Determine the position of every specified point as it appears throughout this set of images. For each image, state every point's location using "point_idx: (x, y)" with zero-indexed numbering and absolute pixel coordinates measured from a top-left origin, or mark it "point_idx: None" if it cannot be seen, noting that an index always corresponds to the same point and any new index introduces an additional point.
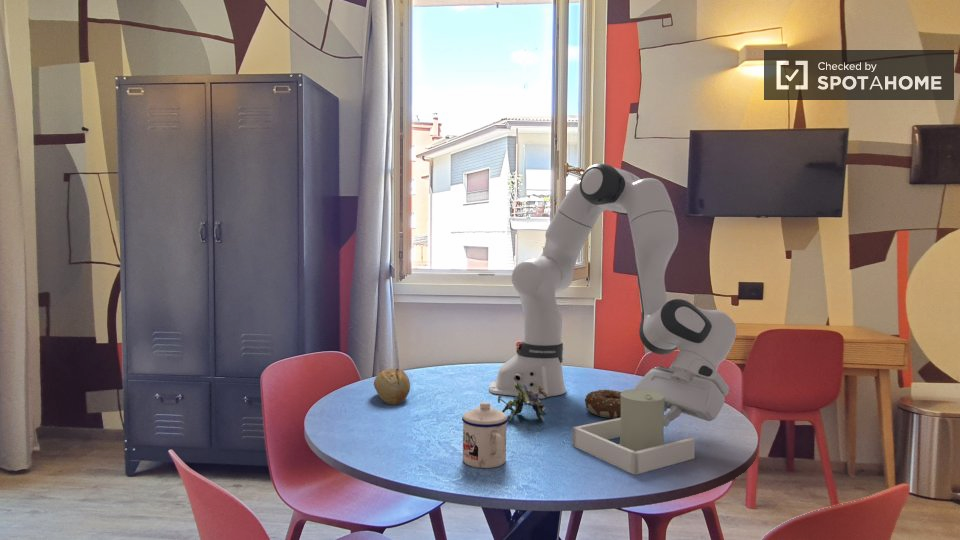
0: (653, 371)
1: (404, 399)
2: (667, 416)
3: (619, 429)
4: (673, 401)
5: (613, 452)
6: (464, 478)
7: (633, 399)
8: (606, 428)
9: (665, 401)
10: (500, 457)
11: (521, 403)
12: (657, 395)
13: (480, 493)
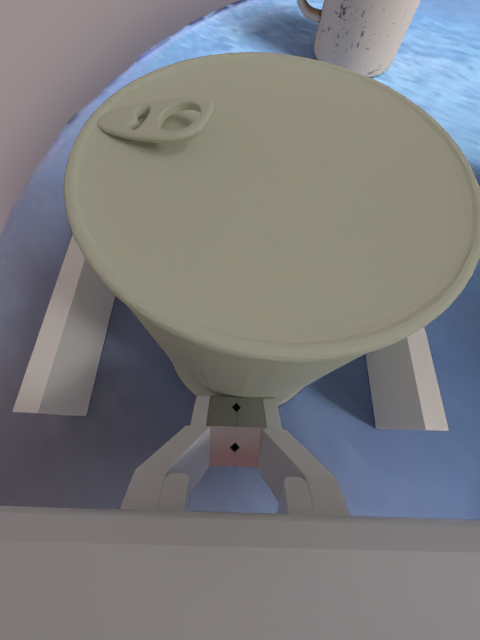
0: None
1: None
2: (188, 429)
3: (381, 349)
4: (148, 523)
5: None
6: (297, 17)
7: (225, 54)
8: None
9: (260, 514)
10: (319, 36)
11: None
12: (184, 251)
13: (241, 9)
